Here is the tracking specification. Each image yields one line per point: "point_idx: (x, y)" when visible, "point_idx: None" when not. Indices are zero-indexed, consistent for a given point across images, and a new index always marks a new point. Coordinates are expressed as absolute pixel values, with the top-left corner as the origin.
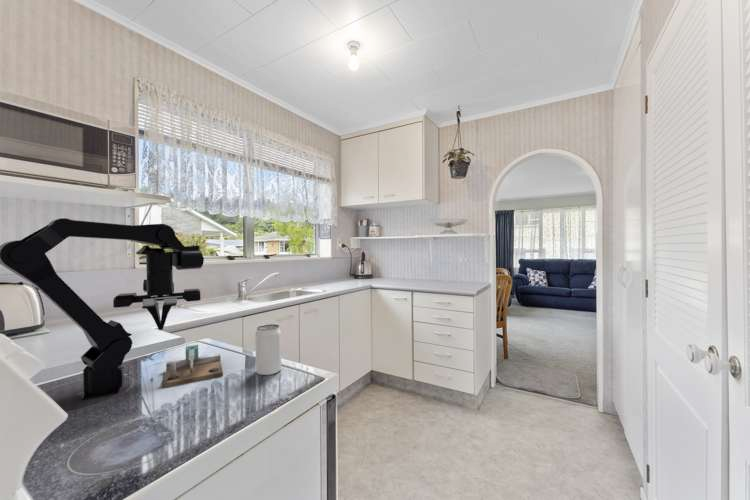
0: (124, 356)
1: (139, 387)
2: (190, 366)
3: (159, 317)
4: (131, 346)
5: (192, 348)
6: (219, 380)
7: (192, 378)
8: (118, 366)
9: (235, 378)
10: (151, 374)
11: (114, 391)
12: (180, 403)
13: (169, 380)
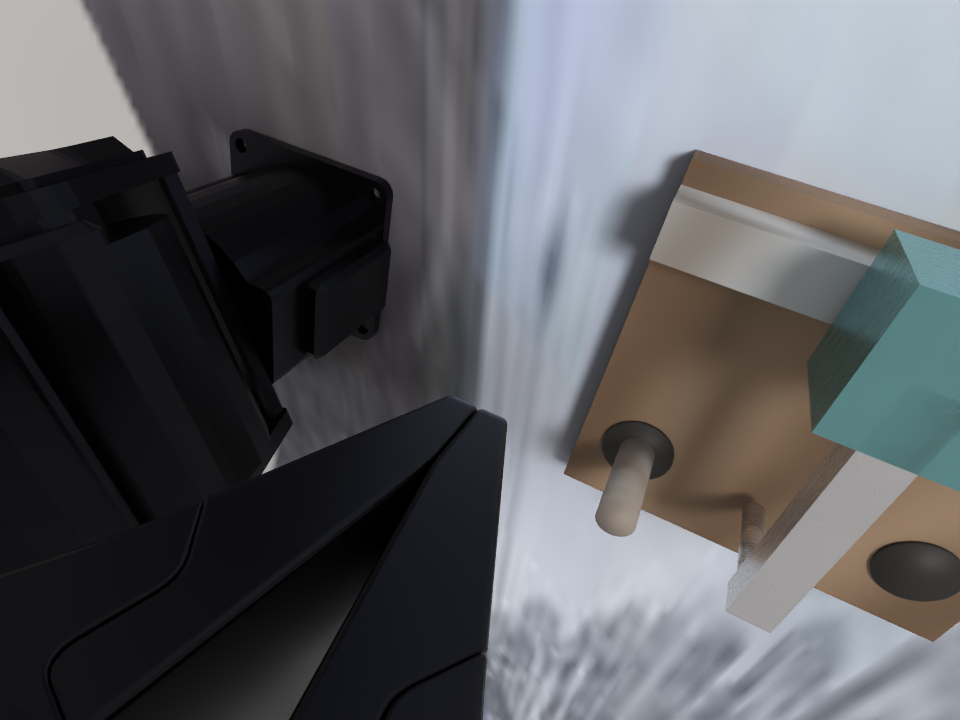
0: (267, 462)
1: (472, 340)
2: (739, 551)
3: (300, 652)
4: (255, 468)
5: (911, 445)
6: (858, 638)
7: (726, 545)
8: (284, 371)
9: (948, 698)
10: (570, 137)
11: (358, 334)
12: (585, 648)
13: (606, 464)
